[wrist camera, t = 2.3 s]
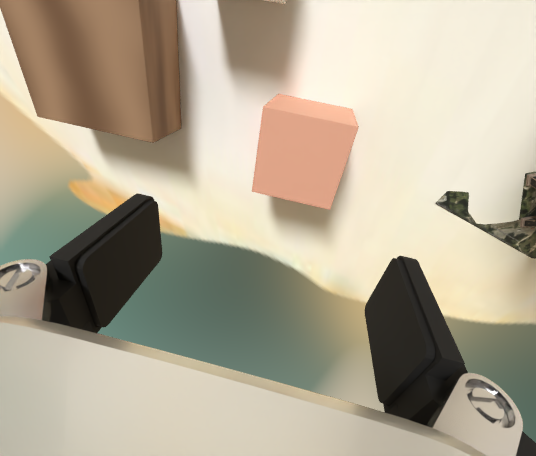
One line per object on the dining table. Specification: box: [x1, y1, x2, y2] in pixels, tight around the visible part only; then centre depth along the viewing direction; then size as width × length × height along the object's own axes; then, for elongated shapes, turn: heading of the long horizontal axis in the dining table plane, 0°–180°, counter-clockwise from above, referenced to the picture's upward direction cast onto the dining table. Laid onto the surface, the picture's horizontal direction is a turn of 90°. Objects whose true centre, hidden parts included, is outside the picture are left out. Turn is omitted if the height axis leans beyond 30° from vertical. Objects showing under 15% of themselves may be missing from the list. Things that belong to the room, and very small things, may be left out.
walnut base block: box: [0, 0, 181, 143], centre depth 20 cm, size 10×10×5 cm
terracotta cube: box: [252, 94, 359, 210], centre depth 20 cm, size 6×6×6 cm
